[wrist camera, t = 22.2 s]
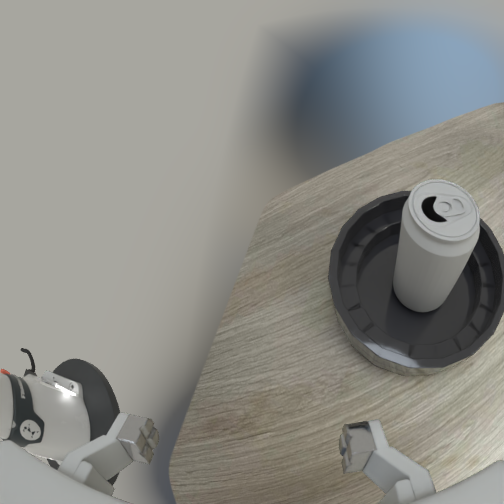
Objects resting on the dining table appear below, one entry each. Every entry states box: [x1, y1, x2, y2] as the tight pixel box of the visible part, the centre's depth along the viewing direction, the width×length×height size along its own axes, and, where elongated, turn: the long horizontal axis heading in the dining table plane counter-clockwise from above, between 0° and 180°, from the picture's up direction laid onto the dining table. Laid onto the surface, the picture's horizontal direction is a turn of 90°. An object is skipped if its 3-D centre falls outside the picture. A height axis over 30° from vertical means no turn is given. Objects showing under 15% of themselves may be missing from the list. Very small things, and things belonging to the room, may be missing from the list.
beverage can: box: [393, 179, 480, 312], centre depth 19 cm, size 6×6×12 cm
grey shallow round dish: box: [328, 191, 504, 376], centre depth 22 cm, size 19×19×5 cm
